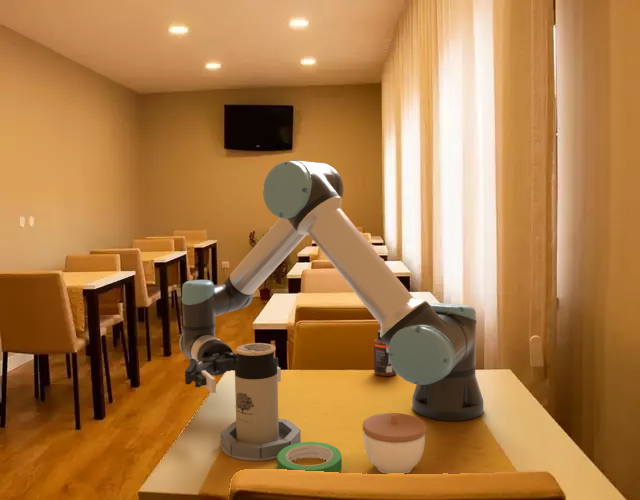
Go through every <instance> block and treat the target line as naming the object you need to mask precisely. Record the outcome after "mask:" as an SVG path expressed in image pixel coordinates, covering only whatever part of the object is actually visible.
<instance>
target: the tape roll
mask: <svg viewBox="0 0 640 500" xmlns="http://www.w3.org/2000/svg"><path fill="white" fill-rule="evenodd" d="M302 458H304V459H317V458H320V459H319V460H322V459H323V460H322V461H324V462H322V463H316V464H312V465H303V464H298V463H295V461H294V460H296V461H298V460H297V459H299V460H303V459H302ZM276 460H277V463H276V464H277V470H278V469H287V470H305V471H324V472H340V471H342V469H343V468H342V460H343V459H342V452H341V451H340V449H338V448H337V447H335V446H334V445H332V444H328V443H324V442H319V441H304V442H301V443H296V444H292V445H289V446H287V447H285V448H283V449H282V450H281V451H280V452H279V453H278V456H277V459H276ZM325 460H326V461H325ZM293 461H294V462H293ZM341 468H342V469H341ZM340 473H341V472H340Z"/></svg>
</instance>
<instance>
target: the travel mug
mask: <svg viewBox="0 0 640 500" xmlns="http://www.w3.org/2000/svg"><path fill="white" fill-rule="evenodd" d="M276 349H277V348H276V346H275V345H273V344H270V343H264V342H263V343H262V342H257V343H256V342H254V343H253V342H252V343H247V344H246V343H245V344H242V345H238V346H237V347H236V348H235V352H236V354H238V360H237V362H236V364H235V371H234V384H235V386H234V390H235V392H234V393H235V394H234V395H235V422H236V432H237V442H244V443H253V444H265V443H269V442H274V441H278V439H279V424H278V419H279V389H278V388H279V386H278V383H279V382H278V373H277V362H276V361H275V359H274V357H275V356H274V355H275V351H276Z"/></svg>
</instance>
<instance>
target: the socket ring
mask: <svg viewBox="0 0 640 500" xmlns="http://www.w3.org/2000/svg"><path fill="white" fill-rule="evenodd" d="M278 424H279V439H278V441H274V442H269V443H265V444H253V443H244V442H237V432H236V421H234V422H232V423H231V424H229V426H227V427H226V428H225V429H224V430H223V431H221V432H220V450H221V451H222V452H223V454H225V455H226V456H228V457H230V458H232V459H235V460H240V461H247V462H264V461H265V462H268V461H273V460H277V456H278V453H279V452H280V451H281V450H282V449H283V448H285V447H287V446H289V445H292V444H296V443H302V442H301V440H302V439H301V437H302V436H301V435H302V434H301V428H300V427H298V426H297V425H296V424H294V423H293V422H291V421H290V420H289V419H286V418H285V419H283V418H278Z"/></svg>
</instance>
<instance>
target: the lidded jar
mask: <svg viewBox="0 0 640 500" xmlns="http://www.w3.org/2000/svg"><path fill="white" fill-rule="evenodd" d="M426 430H427V425H426V423H425V422H424V421H423V419H420V418H419V417H417V416H413V415H410V414H405V413H401V412H400V413H397V412H387V413H386V412H385V413H379V414H374V415H373V414H372V415H371V416H369V417H367V418H366V419H364V421H363V422H362V431H363V435H362V436H363V444H364V445H363V446H364V449H365V453H366V455H367V458H368V460H369V461H370V462H371V463H372V465H374V467H376V470H377V471H379V472H380V473H381V474H384V473H407V474H409V473H410V472H411V471H412V470H413V469H414V467H416V465H418V463H419V462H420V461H421V458H422V457H423V454H424V451H425V445H426V433H427V432H426Z"/></svg>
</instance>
